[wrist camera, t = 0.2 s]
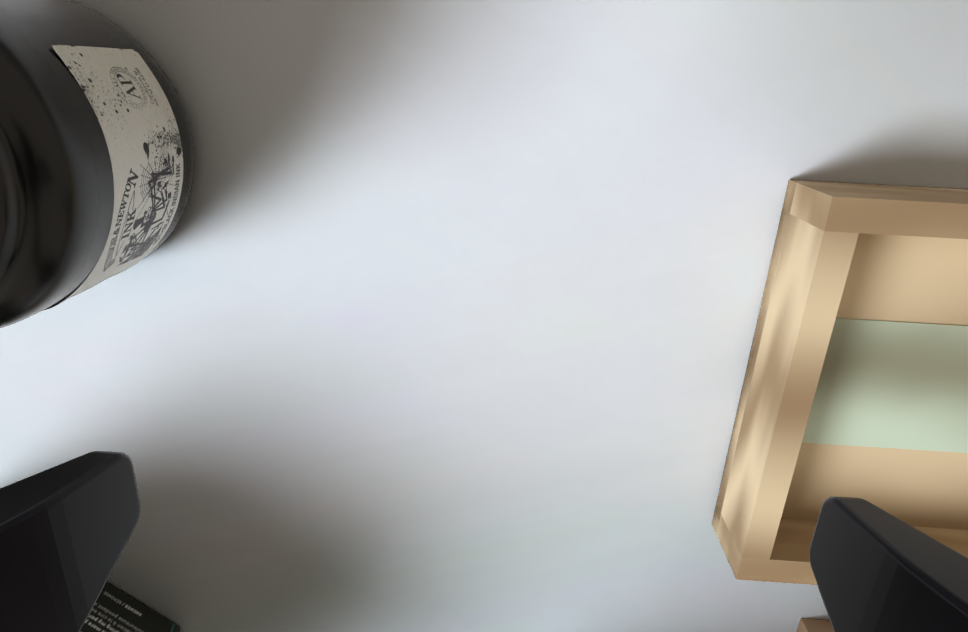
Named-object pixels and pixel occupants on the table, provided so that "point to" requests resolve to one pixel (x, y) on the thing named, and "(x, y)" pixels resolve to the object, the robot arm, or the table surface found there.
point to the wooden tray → (852, 375)
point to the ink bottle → (81, 154)
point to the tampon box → (124, 615)
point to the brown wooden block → (814, 625)
